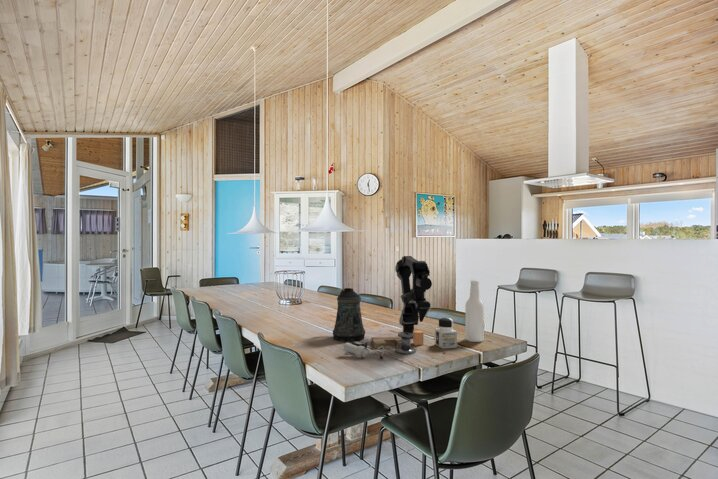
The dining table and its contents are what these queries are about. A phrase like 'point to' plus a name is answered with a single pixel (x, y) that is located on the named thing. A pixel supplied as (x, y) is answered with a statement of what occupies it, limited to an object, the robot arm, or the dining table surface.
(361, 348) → the clip-on lamp
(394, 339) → the notched board
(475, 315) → the alcohol
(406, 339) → the bobbin
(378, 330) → the dining table surface
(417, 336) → the block
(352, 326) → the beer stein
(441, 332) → the container
